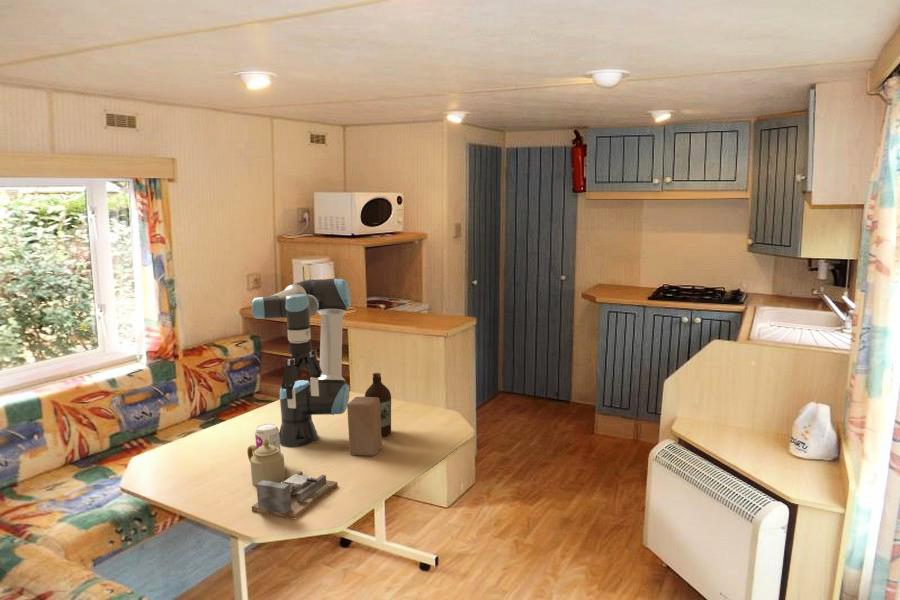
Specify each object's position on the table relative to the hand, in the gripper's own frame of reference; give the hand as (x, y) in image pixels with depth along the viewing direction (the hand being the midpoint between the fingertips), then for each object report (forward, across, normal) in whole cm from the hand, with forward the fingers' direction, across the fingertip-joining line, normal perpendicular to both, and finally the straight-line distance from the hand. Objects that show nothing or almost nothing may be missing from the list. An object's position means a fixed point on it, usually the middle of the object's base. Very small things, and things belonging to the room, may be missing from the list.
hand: (303, 401), depth 230 cm
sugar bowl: (+27, -8, +13) cm, 31 cm away
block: (+27, +26, -8) cm, 38 cm away
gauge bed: (+27, -16, -6) cm, 32 cm away
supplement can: (+27, +2, +18) cm, 32 cm away
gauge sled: (+25, -17, -8) cm, 31 cm away
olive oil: (+27, +44, -4) cm, 52 cm away
